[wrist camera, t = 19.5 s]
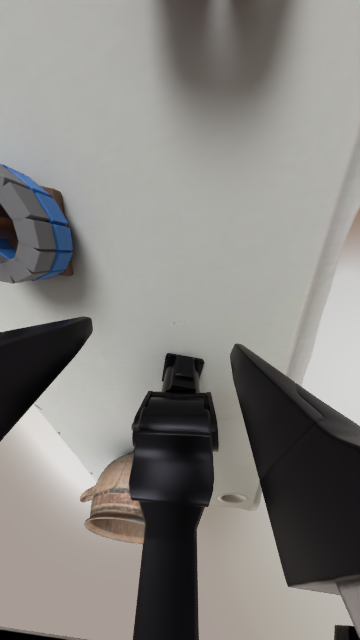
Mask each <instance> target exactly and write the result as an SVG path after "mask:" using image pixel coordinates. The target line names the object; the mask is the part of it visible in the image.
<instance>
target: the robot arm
mask: <svg viewBox="0 0 360 640" xmlns="http://www.w3.org/2000/svg"><path fill="white" fill-rule="evenodd" d="M92 331H93V327H92V320H91V318H89V317H78V318H73V319H68V320H63V321H57V322H52V323H47V324H42V325H36V326H31V327H26V328H21V329H16V330H10V331H5V332H4V333H3V332H0V441H1V440H2V439H3V438H4V436H5V435H6V434H7V433H8V432H9V431H10V430H11V429H12V427H13V426H14V425H15V424H16V423H17V422H18V421H19V419H20V418H21V417H22V416H23V415H24V414H25V413H26V411H27V410H28V409H29V408H30V407H31V406H32V404H33V403H34V402H35V401H36V400H37V399H38V398H39V397H40V395H41V394H42V393H43V392H44V391H45V390H46V389H47V387H48V386H49V385H50V384H51V383H52V382H53V381H54V379H55V378H56V377H57V376H58V375H59V374H60V373H61V371H62V370H63V369H64V368H65V367H66V366H67V365H68V364H69V362H70V361H71V360H72V359H73V358H74V357H75V356H76V354H77V353H78V352H79V350H80V349H81V348H82V346H83V345H84V344H85V342H86V341H87V339H88V338H89V336H90V335H91V334H92ZM168 356H170V357H168ZM230 360H231V367H232V374H233V380H234V384H235V388H236V392H237V396H238V399H239V403H240V407H241V411H242V415H243V419H244V422H245V426H246V430H247V434H248V438H249V441H250V445H251V449H252V453H253V457H254V461H255V464H256V468H257V472H258V476H259V479H260V484H261V488H262V492H263V495H264V499H265V503H266V507H267V511H268V514H269V518H270V522H271V526H272V530H273V534H274V537H275V541H276V545H277V549H278V552H279V556H280V560H281V564H282V568H283V572H284V575H285V579H286V582H287V585H288V587H292V588H298V589H305V590H311V591H318V592H324V593H330V594H336V595H341V597H342V599H343V602H344V604H345V606H346V609H347V611H348V613H349V615H350V618H351V620H352V622H353V625H354V626H342V625H335V635H334V640H360V426H359V425H357V424H356V423H354V422H353V421H351V420H350V419H348V418H347V417H345V416H344V415H342V414H341V413H339V412H337V411H336V410H334V409H333V408H331V407H330V406H328V405H327V404H325V403H324V402H322V401H321V400H319V399H318V398H316V397H315V396H313V395H312V394H311V393H309V392H308V391H306V390H305V389H303V388H302V387H301V386H299V385H298V384H295V382H294V381H292V380H291V379H290V378H288V377H287V376H285V375H284V374H283V373H281V372H280V371H278V370H277V369H276V368H274V367H273V366H271V365H270V364H269V363H267V362H266V361H264V360H263V359H262V358H260V357H259V356H257V355H256V354H255V353H253V352H252V351H250V350H249V349H248V348H246V347H245V346H243V345H241V344H235V345H234V347H233V349H232V352H231V354H230ZM203 365H204V360H203V359H199V358H193V357H187V356H181V355H176V354H170V353H168V354H166V358H165V364H164V371H163V377H162V381H163V386H162V391H161V392H153V391H148V393H147V395H146V396H145V398H144V400H143V402H142V404H141V406H140V408H139V410H138V412H137V414H136V416H135V418H134V422H133V424H132V430H133V438H132V439H133V446H134V447H135V450H134V457H133V463H132V468H131V473H130V478H129V490H130V497H131V500H132V501H139V504H140V508H141V512H142V515H143V519H144V523H145V531H144V541H143V550H142V560H141V569H140V578H139V588H138V597H137V606H136V616H135V625H134V635H133V640H199V636H198V635H199V633H198V585H197V583H198V581H197V531H196V530H197V527H198V524H199V521H200V519H201V516H202V513H203V510H204V508H205V507H208V506H209V503H210V499H211V496H212V492H213V483H214V467H213V452H218V447H219V442H218V428H217V420H216V414H215V410H214V405H213V401H212V396H211V392H207V393H200V389H199V378H200V375H201V371H202V368H203ZM0 640H86V639H79V638H73V637H66V636H59V635H52V634H46V633H39V632H33V631H26V630H19V629H13V628H6V627H0Z"/></svg>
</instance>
